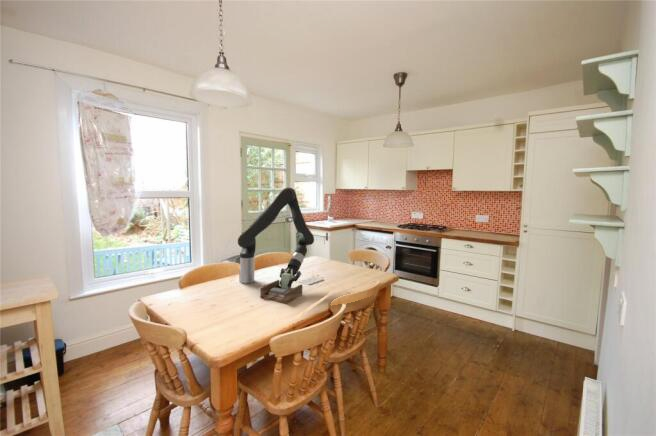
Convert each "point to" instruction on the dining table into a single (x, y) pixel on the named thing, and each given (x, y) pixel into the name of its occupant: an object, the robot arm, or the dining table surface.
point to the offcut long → (276, 295)
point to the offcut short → (278, 291)
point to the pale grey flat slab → (311, 280)
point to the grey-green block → (285, 281)
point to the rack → (288, 295)
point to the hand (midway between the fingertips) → (284, 285)
